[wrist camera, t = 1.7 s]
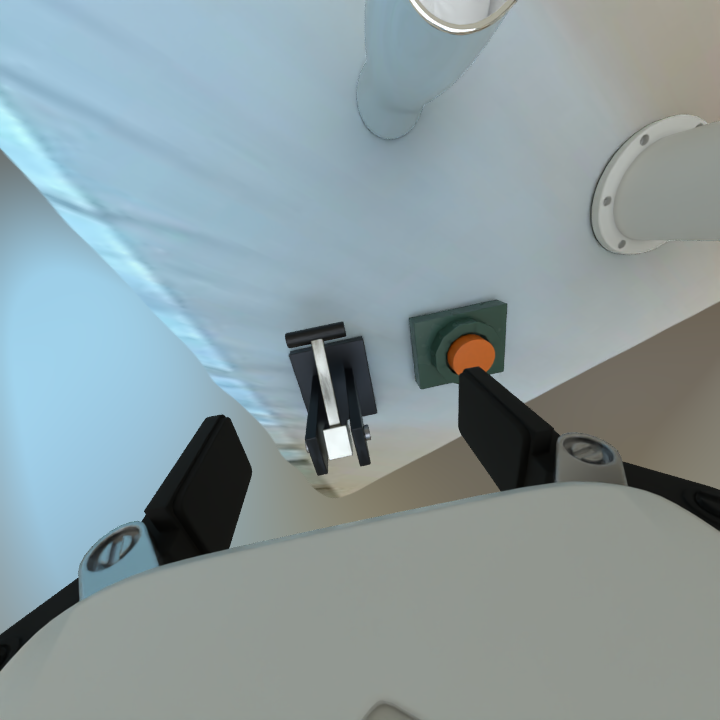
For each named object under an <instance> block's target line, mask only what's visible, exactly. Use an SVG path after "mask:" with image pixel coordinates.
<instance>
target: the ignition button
mask: <svg viewBox="0 0 720 720" xmlns="http://www.w3.org/2000/svg"><path fill="white" fill-rule="evenodd" d="M494 359H495V350H494V348H493V346H492V345H491V344H490V343H489V342H488V341H486V340H485V339H483V338H482V337H480V336H478V335H475V334H468V335H464V336H462V337H460V338H458V339H457V340H455V341H454V342H453V344H452V345H451V346H450V348H449V350H448V354H447V360H448V363H449V365H450V367H451V368H452V369H453V370H454V371H455V372H456V373H457V374H458V375H460V373H463V370H464V369H466V368H472V367H477V366H479V367H481V368H482V369H483V370H484V371H485V372H487V371H488V370H489V369H490V367H491V366H492V364H493V362H494Z"/></svg>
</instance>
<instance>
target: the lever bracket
mask: <svg viewBox="0 0 720 720" xmlns="http://www.w3.org/2000/svg"><path fill="white" fill-rule="evenodd" d="M325 348H326V353H327V357H328V362H329V367H330V371H331V376H332V381H333V385H334V390H335V395H336V399H337V404H338V409H339V414H340V418H341V420H346V419H347V420H349V419H350V426H351V432H352V436H353V440H354V444H355V448H356V452H357V456H358V460H359V464H360V466H365V465H370V464H371V462H370V457H369V451H368V446H367V440H371V436H370V431H369V427H368V425H364V424H363V418H362V416H367V415H372V414H376V413H377V409H376V404H375V399H374V394H373V388H372V383H371V378H370V373H369V368H368V362H367V357H366V352H365V347H364V342H363V338H362V336H361V337H356V338H351V339H347V340H342V341H337V342H332V343H328V344H325ZM289 357H290V360H291V363H292V366H293V369H294V372H295V375H296V378H297V381H298V384H299V387H300V391H301V394H302V397H303V400H304V403H305V406H306V409H307V412H308V418H307V427H306V435H305V445H306V450H307V452H308V453H310V456H311V459H312V461H313V464H314V467H315V470H316V473H317V475H318V476H319V475H324V474H328V454H327V449H326V444H325V440H324V435H323V428H324V426H325V424H327V423H328V419H327V414H326V409H325V405H324V400H323V395H322V391H321V386H320V381H319V377H318V372H317V367H316V363H315V358H314V353H313V349H312V347H309V348H304V349H299V350H295V351H290V354H289Z"/></svg>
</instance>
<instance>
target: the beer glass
mask: <svg viewBox="0 0 720 720" xmlns="http://www.w3.org/2000/svg"><path fill="white" fill-rule="evenodd" d="M516 2H517V0H365V50H366V63H365V64H364V66H363V68H362V70H361V72H360V75H359V78H358V82H357V89H356V99H357V106H358V110H359V113H360V116H361V118H362V120H363V122H364V124H365V125H366V127H367V128H368V129H369V130H370V131H371V132H372V133H373V134H375V135H376V136H378V137H380V138H383V139H396V138H399V137H401V136H403V135H405V134H407V133H408V132H409V131H410V130H411V129H412V128H413V127H414V125H415V124H416V122H417V121H418V119H419V117H420V115H421V112H422V110H423V107H424V105H426V104H428V103H429V102H431V101H432V100H434V99H435V98H437V97H438V96H440V95H441V94H442V93H444V92H445V91H446V90H447V89H448V88H450V87H451V86H452V85H453V84H454V83H455V82H456V81H457V80H458V79H459V78H460V77H461V76H462V75H463V74H464V73H465V72H466V70H467V69H468V68H469V67H470V66H471V65H472V63H473V62H474V61H475V60H476V58H477V57H478V56H479V54H480V53H481V52H482V50H483V49H484V48H485V46H486V45H487V44H488V42H489V41H490V39H491V38H492V36H493V35H494V33H495V32H496V30H497V29H498V27H499V26H500V24H501V23H502V21H503V20H504V18H505V17H506V15H507V14H508V12H509V11H510V9H511V8H512V7H513V6H514V4H515V3H516Z"/></svg>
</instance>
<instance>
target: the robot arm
mask: <svg viewBox="0 0 720 720" xmlns="http://www.w3.org/2000/svg"><path fill="white" fill-rule="evenodd" d="M591 219H592V226H593V230H594V233H595V236H596V238H597V240H598V241H599V242H600V244H601V245H602V246H603V247H604V248H606V249H607V250H609V251H611V252H614V253H617V254H640V253H645V252H648V251H650V250H653V249H655V248H657V247H659V246H661V245H663V244H664V243H666V242H667V241H669V240H686V241H720V120H719V121H716V122H713V123H709V124H708V123H707V122H706V121H705V120H703V119H701V118H700V117H698V116H694V115H689V114H681V115H674V116H671V117H667V118H664V119H661V120H659V121H656V122H654V123H652V124H649V125H647V126H646V127H644V128H643V129H641V130H640V131H638V132H637V133H635V134H634V135H633V136H632V137H631V138H630V139H629V140H627V141H626V142H625V143H624V144H623V145H622V147H621V148H620V149H619V150H618V151H617V152H616V154H615V155H614V156H613V158H612V159H611V161H610V162H609V164H608V165H607V167H606V168H605V170H604V172H603V174H602V176H601V178H600V180H599V183H598V186H597V189H596V191H595V194H594V199H593V204H592V217H591ZM458 427H459V431H460V433H461V435H462V436H463V438H464V439H465V440H466V442H467V443H468V445H469V446H470V448H471V449H472V450H473V452H474V453H475V455H476V456H477V458H478V459H479V461H480V462H481V464H482V465H483V466H484V468H485V469H486V471H487V472H488V473H489V475H490V476H491V478H492V479H493V481H494V482H495V483H496V485H497V486H498V488H499V489H500V491H501V492H496V493H491V494H485V495H480V496H475V497H470V498H466V499H461V500H456V501H451V502H446V503H441V504H436V505H431V506H427V507H422V508H417V509H412V510H407V511H402V512H397V513H393V514H388V515H384V516H378V517H374V518H369V519H364V520H360V521H355V522H350V523H345V524H341V525H336V526H331V527H327V528H323V529H317V530H313V531H308V532H304V533H299V534H294V535H290V536H285V537H280V538H276V539H271V540H267V541H262V542H258V543H253V544H249V545H244V546H239V547H235V548H231V549H229V547H230V544H231V541H232V537H233V534H234V531H235V528H236V525H237V521H238V518H239V515H240V512H241V508H242V505H243V502H244V498H245V495H246V492H247V489H248V485H249V482H250V479H251V476H252V468H251V465H250V463H249V461H248V458H247V456H246V454H245V451H244V449H243V447H242V444H241V442H240V440H239V437H238V435H237V433H236V430H235V428H234V426H233V424H232V422H231V419H230V418H229V417H225V416H224V415H217V416H211V417H207V418H206V419H205V420H204V422H203V423H202V425H201V426H200V428H199V429H198V431H197V432H196V434H195V435H194V437H193V438H192V440H191V441H190V443H189V444H188V446H187V447H186V449H185V450H184V452H183V453H182V455H181V456H180V458H179V459H178V461H177V463H176V464H175V466H174V467H173V468H172V470H171V471H170V473H169V474H168V476H167V477H166V479H165V480H164V482H163V484H162V485H161V486H160V488H159V489H158V491H157V492H156V494H155V495H154V497H153V498H152V500H151V502H150V503H149V504H148V506H147V508H146V509H145V511H144V512H145V514H146V515H145V517H144V519H143V520H142V522H139V521H134V522H129V523H126V524H124V525H121V526H119V527H117V528H115V529H114V530H112V531H110V532H109V533H108V534H106V535H105V536H103V537H102V538H101V539H100V540H99V541H98V542H96V543H95V544H94V545H93V546H92V548H91V549H90V550H89V551H88V552H87V553H86V555H85V556H84V558H83V560H82V561H81V563H80V566H79V571H78V576H79V578H77V579H76V580H74V581H73V582H72V583H70V584H69V585H68V586H66V587H65V588H63V589H62V590H61V591H59V592H58V593H57V594H55V595H54V596H52V597H51V598H50V599H48V600H47V601H46V602H44V603H43V604H42V605H40V606H39V607H37V608H36V609H35V610H33V611H32V612H31V613H29V614H28V615H26V616H25V617H24V618H22V619H21V620H20V621H18V622H17V623H16V624H14V625H13V626H11V627H10V628H9V629H8V630H6V631H5V632H3V633H2V634H1V635H0V720H720V490H718V489H716V488H713V487H710V486H706V485H703V484H699V483H696V482H692V481H689V480H685V479H682V478H678V477H675V476H671V475H668V474H664V473H661V472H657V471H654V470H650V469H647V468H643V467H640V466H636V465H633V464H629V463H626V462H622V458H621V456H620V454H619V452H618V451H617V450H616V449H615V448H614V447H613V446H612V445H611V444H609V443H607V442H606V441H604V440H602V439H600V438H598V437H595V436H592V435H588V434H584V433H577V432H576V433H566V434H562V435H561V436H560V435H559V434H558V433H557V432H555V431H554V428H553V427H552V426H550V425H549V424H548V423H547V422H546V421H544V420H543V419H542V418H541V417H539V416H538V415H537V414H536V413H535V412H534V411H532V410H531V409H530V408H528V406H526V405H525V404H524V403H523V402H522V401H520V400H519V399H518V398H517V397H516V396H514V395H513V394H512V393H511V392H509V391H508V390H507V389H506V388H505V387H503V386H502V385H501V384H500V383H499V382H497V381H496V380H495V379H494V378H493V377H491V376H490V375H489V374H488V373H487V372H485V371H484V370H483V369H482V368H481V367H479V366H477V367H472V368H466V369H464V370H463V373H460V375H459V414H458Z"/></svg>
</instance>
